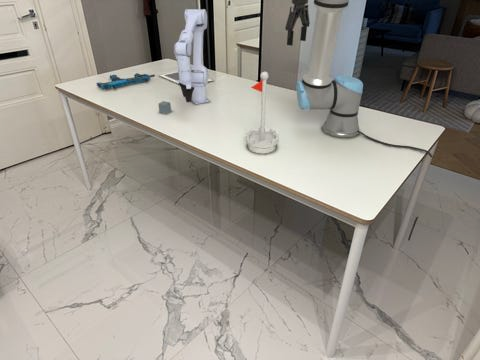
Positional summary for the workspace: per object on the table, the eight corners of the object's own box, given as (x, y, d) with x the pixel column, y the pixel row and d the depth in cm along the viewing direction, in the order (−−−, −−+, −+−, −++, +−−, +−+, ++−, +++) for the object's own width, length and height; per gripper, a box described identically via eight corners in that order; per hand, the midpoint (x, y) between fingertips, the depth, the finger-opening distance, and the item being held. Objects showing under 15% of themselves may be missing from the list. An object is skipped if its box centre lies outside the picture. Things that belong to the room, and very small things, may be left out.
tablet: (159, 75, 221) (159, 75, 220) (185, 70, 232) (185, 69, 231) (186, 87, 200) (186, 86, 200) (213, 80, 211) (213, 80, 211)
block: (171, 111, 169) (170, 102, 167) (166, 114, 166) (165, 105, 164) (164, 110, 171) (163, 101, 168) (159, 112, 168) (158, 103, 165)
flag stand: (269, 137, 144) (273, 65, 127) (283, 151, 134) (289, 74, 117) (240, 142, 140) (240, 68, 123) (253, 157, 130) (255, 78, 113)
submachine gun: (140, 68, 226) (159, 74, 209) (142, 73, 228) (160, 80, 211) (89, 77, 207) (104, 85, 190) (90, 84, 209) (106, 92, 192)
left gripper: (173, 66, 158) (176, 95, 166) (178, 75, 147) (181, 105, 154) (188, 65, 160) (190, 93, 168) (194, 73, 149) (196, 103, 156)
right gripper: (305, -8, 167) (301, 38, 178) (279, -5, 150) (276, 46, 161) (319, -8, 163) (314, 39, 175) (294, -4, 146) (290, 48, 158)
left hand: (187, 99), depth 161 cm, fingers open, 7 cm apart
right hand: (296, 42), depth 168 cm, fingers open, 13 cm apart
